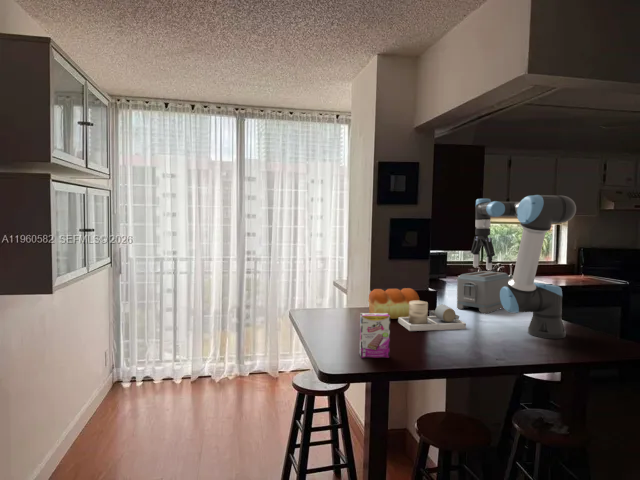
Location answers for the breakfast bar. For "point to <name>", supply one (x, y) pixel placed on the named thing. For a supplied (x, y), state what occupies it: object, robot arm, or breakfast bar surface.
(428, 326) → the white divided tray
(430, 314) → the button housing
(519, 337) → the breakfast bar surface
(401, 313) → the bread
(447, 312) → the ceramic mug
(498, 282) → the toaster
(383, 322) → the candy bar box
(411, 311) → the cylinder
